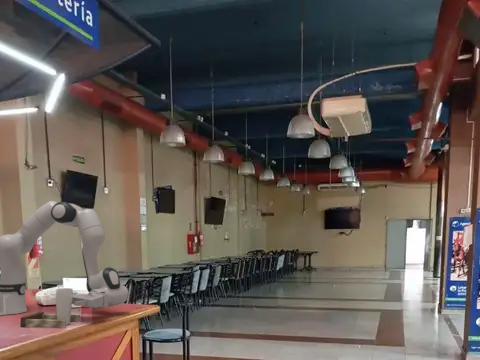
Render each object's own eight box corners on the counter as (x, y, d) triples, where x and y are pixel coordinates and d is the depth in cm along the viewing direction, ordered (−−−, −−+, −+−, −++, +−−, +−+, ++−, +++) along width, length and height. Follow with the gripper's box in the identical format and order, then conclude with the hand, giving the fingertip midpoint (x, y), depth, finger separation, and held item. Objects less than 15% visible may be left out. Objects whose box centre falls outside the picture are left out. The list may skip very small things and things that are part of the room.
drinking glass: (66, 326, 191) (67, 290, 193) (51, 326, 193) (52, 290, 194) (74, 323, 198) (75, 288, 200) (60, 322, 199) (61, 288, 201)
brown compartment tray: (20, 327, 192) (20, 317, 192) (38, 320, 204) (38, 311, 205) (63, 328, 188) (64, 318, 189) (79, 321, 201) (80, 312, 202)
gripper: (84, 290, 216) (56, 293, 205) (109, 293, 203) (81, 297, 192) (83, 303, 215) (56, 307, 204) (109, 308, 202) (81, 312, 192)
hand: (68, 302), depth 198 cm, fingers open, 8 cm apart
